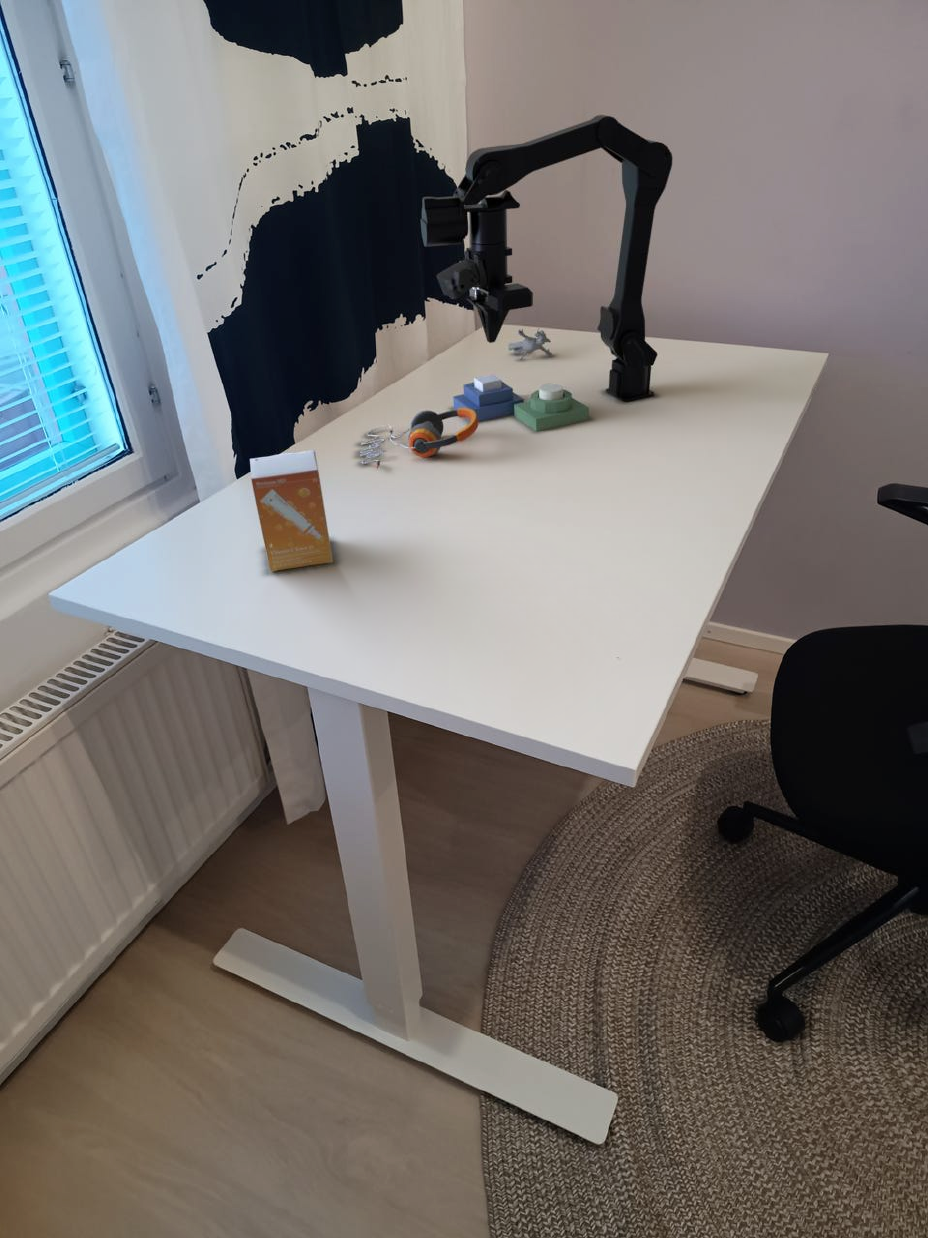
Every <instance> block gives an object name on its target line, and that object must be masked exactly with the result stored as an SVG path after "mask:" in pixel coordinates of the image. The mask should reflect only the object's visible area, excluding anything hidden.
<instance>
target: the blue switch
mask: <svg viewBox="0 0 928 1238" xmlns="http://www.w3.org/2000/svg"><path fill="white" fill-rule="evenodd" d="M462 387H463V394H458V395H454V396H452V399H453V410H458V409H459V408H468V409H472V410H473V411H475V413H476V415H477V417H478V423H479V422H483V421H488V420H492V419H493V420H494V419H497V418H503V417H505V416H510V415H514V404H518V403H523V402H525V399H524V397H522V396H520V395H518V394H517V393H516V392H514V388H513V387H511V386H510V385H508V384H507V383H505V382H504V381H502V380H501V387H502V388H501V389H496V390H491V391H486V392H481V391H479V390H478V389H477V388H475V387H474V382H470V383H465V384H463V385H462ZM466 419H467V420H468V421H469V422H470V421H471V419H469V418H466Z"/></svg>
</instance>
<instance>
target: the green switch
mask: <svg viewBox="0 0 928 1238" xmlns="http://www.w3.org/2000/svg"><path fill="white" fill-rule="evenodd" d="M589 409H590V408H589V406H587V405H586V404H584V403H582V402H581V401H579V400H577V399H576V398H574V397H573V393H572V392H570V391H569V390H567V389H564V388H563V398H562V399H558V400H543V399H540V398H539V389H537V390H535V391H533V392H532V393H530V399H529V400H528V401H524V402H523V403H518V404H514V414H513V415H514V418H516V419H518V421H520V422H522V423H523V424H524V425H526V426H527V427H529V428H531V429H532V431H534V432H540V431H544V430H549V429H554V428H559V427H562V426H566V425H570V424H575V423H580V422H584V421H588V420H589V412H590V411H589Z"/></svg>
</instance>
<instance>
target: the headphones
mask: <svg viewBox="0 0 928 1238" xmlns="http://www.w3.org/2000/svg"><path fill="white" fill-rule="evenodd" d="M457 417H458V418H465V419H467V418H469V419H471V421H469V422H468V424H466V425H465V426H464V427H463V428H462V429H460V430H458V431H457V432H456V433H455V434H454V435H452V436H449V437H446V438H442V435H443V432H444V420H447V419H451V418H457ZM478 427H479V422H478V417H477V415H476V413H475V411H473V410H472V409H468V408H459V409H458V410H455V409H452V410H448V411H447V410H446V411H444V412H441V413H436V412H435V411H432V410H422V411H419V412H418V413H416V414H415V415H414V417H413V418H412V420H411V422H410V428H408V429H407V430H405V431H404V432H402V433H401V434H399V435H397V436H394V435H393V432H394V431H393V427H392V426H391V425H380V426H377V427H375V428H373V429H370V431H368V432H367V436H368V437H375V438H373V439H370V440H367V441H363V442H361V443H360V444H361V446H363V445H364V446H365V445H368V448H364V449H362V450H360V452H359V453H360V454H359V456H360V457H365V458H363V460H361V464H363V465H365V464H370V463H375V462H376V469H378V468H379V466H380V465H381V461H380V460H379V459H374V460H370V459H373V458H377V457H380V456H381V453H385V452H386V449H385V448H383V449H378V448H380V447H381V444H383V443H385V442H386V441H385V439H381V438H380V439H379V437H380V436H379V435H378V434H371V433H372V432H374V431H376V430H378V429H380V428H390V430H389V441H390V442H391V443H392V444H394V445H396V446H401V447H403V448H405V449H410V450H411V452H412V453H413V454H414V455H415V456H418V457H420V458H428V457H432V456H435V455H436V454H437V453H438V452H439V451H440V449H441V448H443V447H448V446H450V445H453V444H455V443H458V442H459V443H462V442H463V441H465V440H467V439H468V438H470V437H471V436H472V435H473V434H475V432H476V431H477V429H478ZM408 432H409V433H408ZM406 433H408V438H407V439H408V446H405V445H404V444H401V443H396V442H395V441H393V440H392V438H393V439H398V438H401V437H403V436H404V435H405V434H406ZM374 449H377V450H374ZM366 460H370V461H366Z"/></svg>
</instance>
